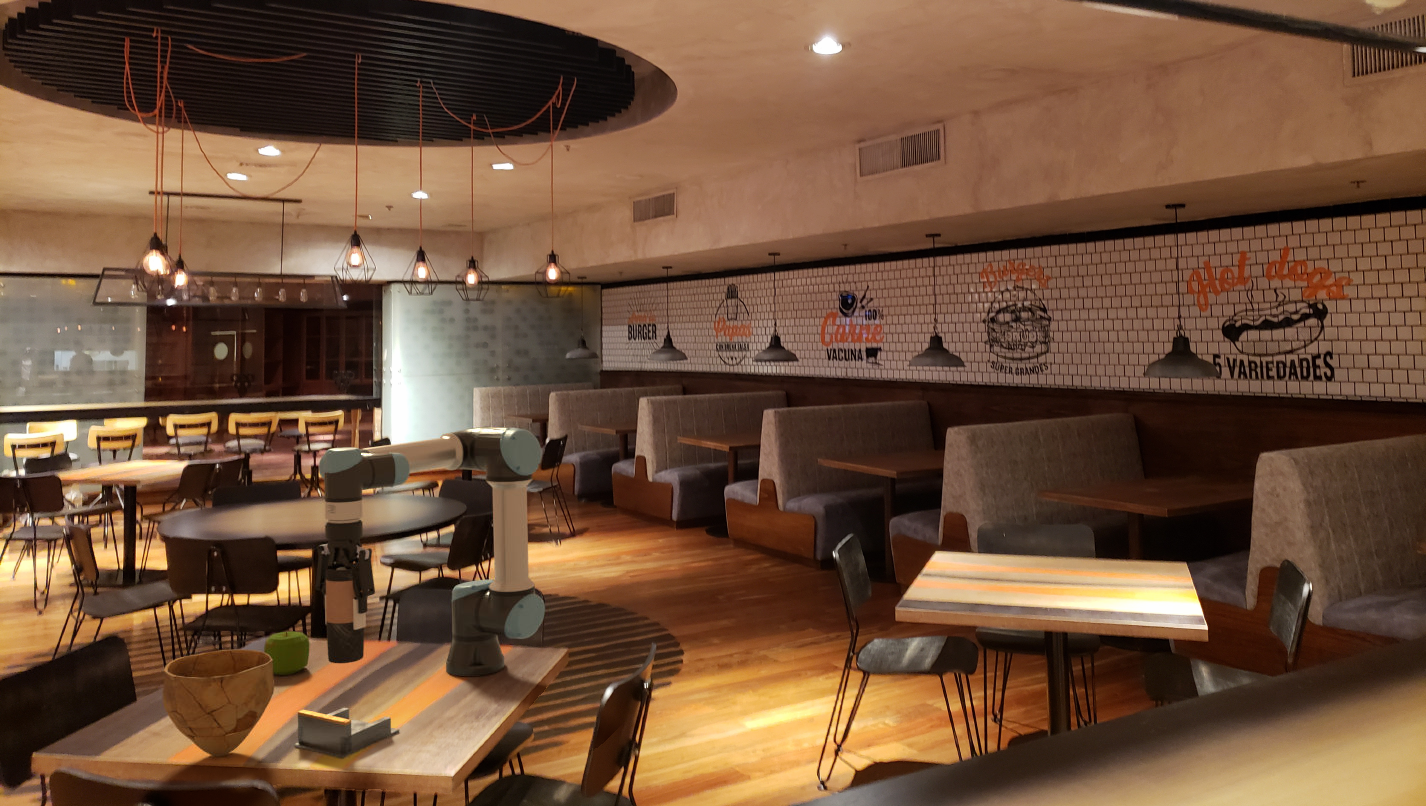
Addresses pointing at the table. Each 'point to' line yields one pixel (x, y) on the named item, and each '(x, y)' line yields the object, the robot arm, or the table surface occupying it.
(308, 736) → the grey holder
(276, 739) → the table surface
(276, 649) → the apple
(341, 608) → the travel mug
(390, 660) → the table surface
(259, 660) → the bowl
